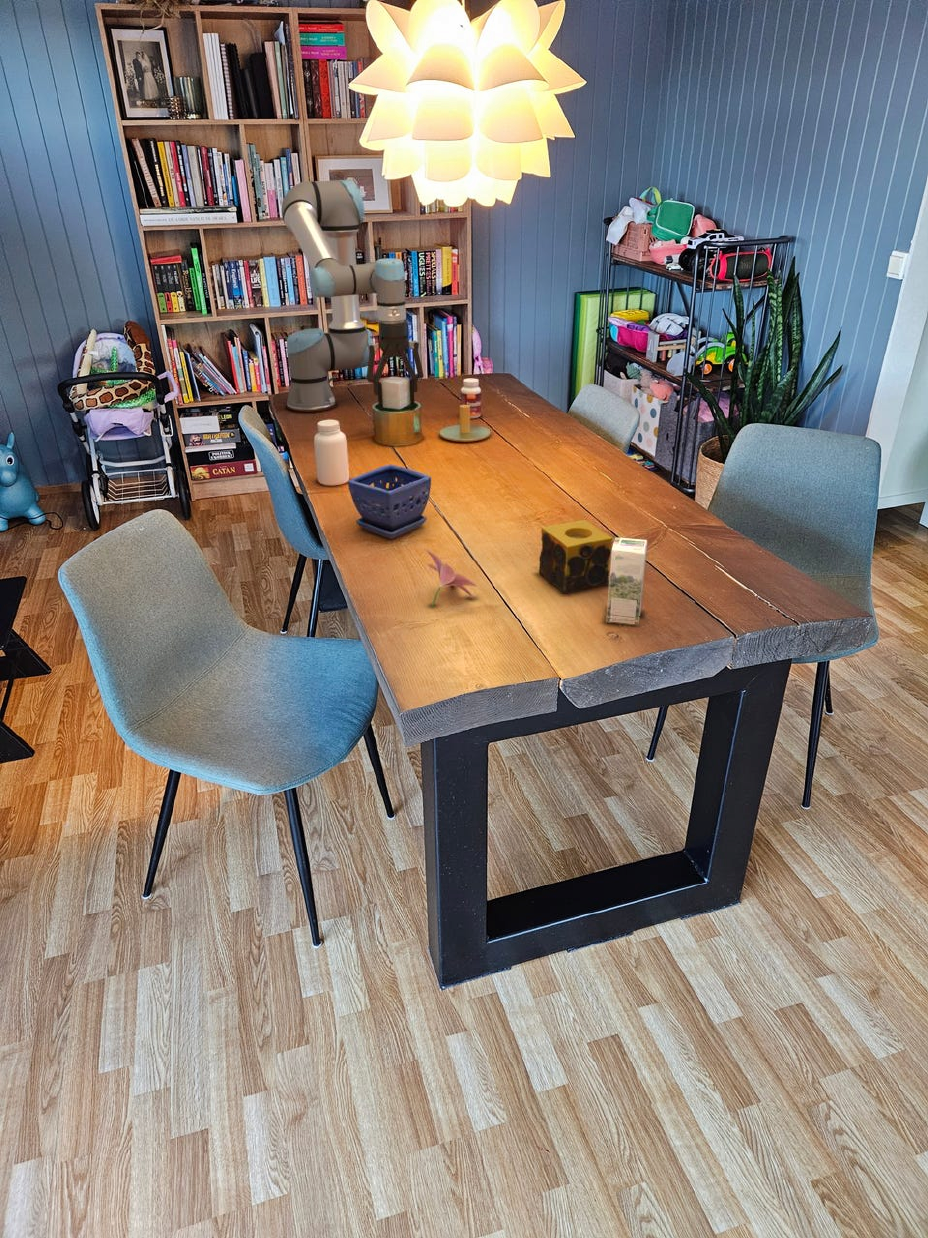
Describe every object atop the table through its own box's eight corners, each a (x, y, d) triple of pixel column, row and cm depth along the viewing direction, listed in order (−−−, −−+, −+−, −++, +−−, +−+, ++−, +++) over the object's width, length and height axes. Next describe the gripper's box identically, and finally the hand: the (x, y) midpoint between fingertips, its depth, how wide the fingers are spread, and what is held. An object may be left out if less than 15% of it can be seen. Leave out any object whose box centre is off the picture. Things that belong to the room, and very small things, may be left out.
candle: (537, 573, 173) (539, 526, 168) (582, 564, 177) (584, 518, 172) (563, 595, 165) (565, 546, 160) (609, 585, 168) (613, 537, 164)
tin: (370, 434, 256) (368, 401, 251) (416, 429, 259) (415, 397, 254) (378, 448, 244) (376, 414, 239) (427, 443, 247) (425, 410, 243)
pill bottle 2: (466, 419, 267) (466, 383, 262) (457, 415, 272) (456, 379, 266) (484, 417, 269) (484, 380, 264) (475, 412, 274) (474, 376, 269)
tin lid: (434, 430, 258) (433, 401, 253) (482, 426, 261) (482, 397, 257) (446, 445, 245) (445, 415, 241) (496, 440, 248) (497, 410, 244)
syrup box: (641, 611, 159) (648, 538, 152) (638, 627, 154) (645, 551, 147) (609, 608, 160) (614, 535, 153) (605, 623, 155) (611, 548, 148)
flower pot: (392, 545, 186) (389, 492, 180) (349, 530, 193) (345, 478, 188) (434, 526, 195) (433, 475, 189) (392, 512, 202) (389, 462, 196)
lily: (477, 620, 159) (493, 569, 158) (417, 603, 155) (432, 551, 154) (458, 610, 170) (472, 562, 170) (401, 594, 166) (416, 545, 166)
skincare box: (393, 401, 251) (391, 375, 247) (411, 404, 248) (410, 378, 244) (381, 407, 246) (379, 380, 242) (400, 409, 243) (398, 383, 240)
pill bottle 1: (315, 486, 218) (309, 427, 211) (320, 475, 225) (315, 417, 218) (347, 486, 218) (342, 427, 210) (351, 475, 225) (347, 417, 217)
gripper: (355, 326, 230) (361, 411, 241) (433, 321, 235) (436, 405, 246) (351, 320, 237) (357, 404, 248) (427, 316, 241) (430, 398, 252)
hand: (396, 404), depth 247 cm, fingers closed on skincare box, 8 cm apart
